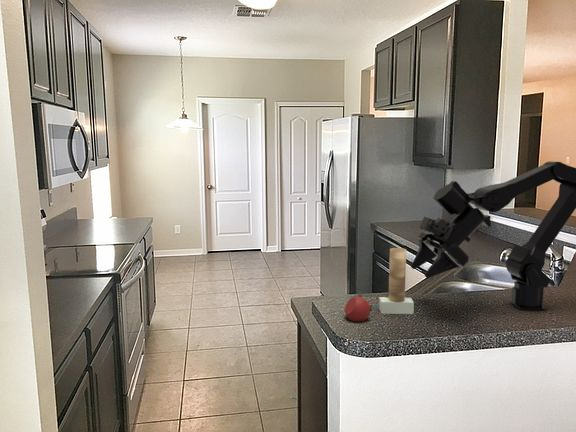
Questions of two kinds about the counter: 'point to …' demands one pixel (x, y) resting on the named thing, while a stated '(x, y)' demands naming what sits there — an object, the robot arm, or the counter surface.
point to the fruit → (357, 309)
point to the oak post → (397, 274)
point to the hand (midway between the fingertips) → (418, 272)
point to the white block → (396, 306)
